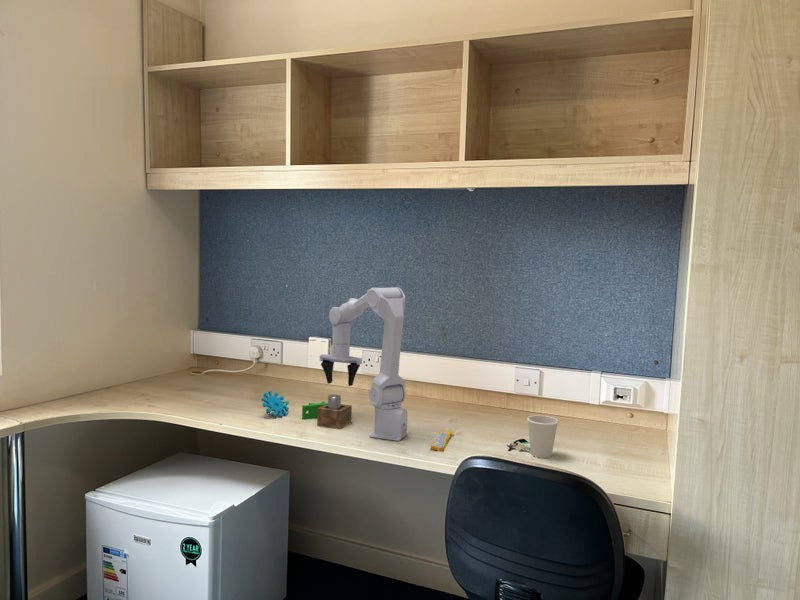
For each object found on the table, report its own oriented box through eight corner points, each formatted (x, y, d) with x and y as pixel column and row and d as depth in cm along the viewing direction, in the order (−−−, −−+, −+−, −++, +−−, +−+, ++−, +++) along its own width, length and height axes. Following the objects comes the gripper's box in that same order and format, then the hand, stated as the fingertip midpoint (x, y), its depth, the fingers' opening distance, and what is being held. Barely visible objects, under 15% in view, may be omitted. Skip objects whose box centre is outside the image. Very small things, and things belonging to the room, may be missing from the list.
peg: (342, 420, 191) (342, 395, 190) (337, 423, 187) (338, 398, 186) (330, 418, 192) (330, 394, 191) (325, 422, 188) (326, 397, 187)
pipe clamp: (332, 414, 202) (332, 400, 202) (335, 417, 199) (336, 403, 198) (299, 416, 197) (300, 403, 197) (302, 419, 194) (303, 405, 194)
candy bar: (444, 454, 166) (444, 447, 166) (429, 452, 167) (429, 445, 167) (453, 436, 182) (454, 430, 182) (440, 435, 183) (440, 429, 183)
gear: (270, 416, 191) (259, 389, 196) (260, 426, 193) (249, 400, 198) (297, 414, 199) (285, 389, 204) (287, 424, 202) (276, 399, 207)
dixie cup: (526, 458, 163) (528, 422, 162) (524, 448, 171) (526, 414, 171) (558, 461, 162) (560, 424, 161) (555, 450, 170) (556, 416, 169)
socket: (351, 422, 192) (351, 405, 192) (340, 429, 185) (340, 411, 184) (328, 419, 195) (328, 402, 194) (317, 425, 187) (317, 408, 187)
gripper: (366, 343, 200) (365, 383, 201) (326, 340, 204) (325, 379, 206) (357, 346, 193) (356, 388, 194) (316, 342, 198) (316, 383, 199)
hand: (340, 384), depth 199 cm, fingers open, 7 cm apart
